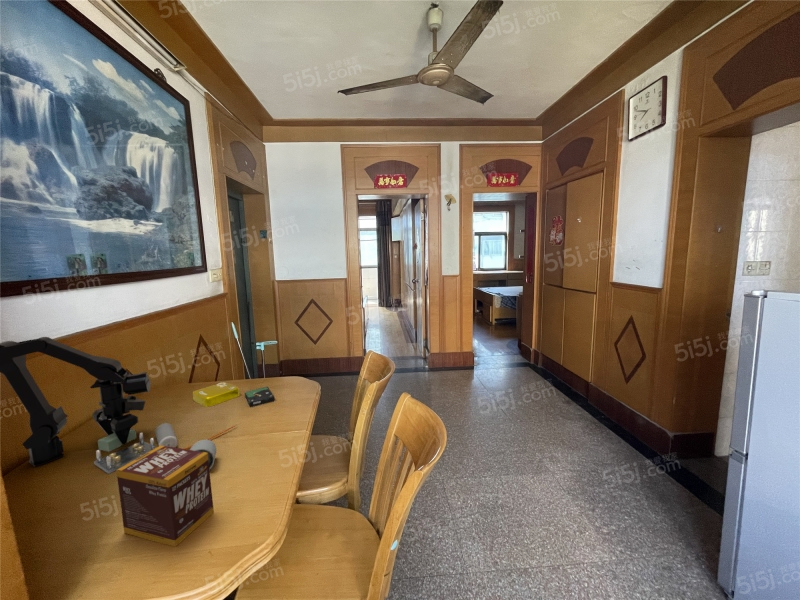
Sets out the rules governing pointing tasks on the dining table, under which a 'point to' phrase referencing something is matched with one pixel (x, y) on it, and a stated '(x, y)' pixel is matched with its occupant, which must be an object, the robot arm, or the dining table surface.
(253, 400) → the disk drive
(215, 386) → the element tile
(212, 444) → the ceramic mug
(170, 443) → the motor
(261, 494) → the dining table surface
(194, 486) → the supplement box
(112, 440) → the green rectangular block
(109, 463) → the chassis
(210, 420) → the dining table surface
